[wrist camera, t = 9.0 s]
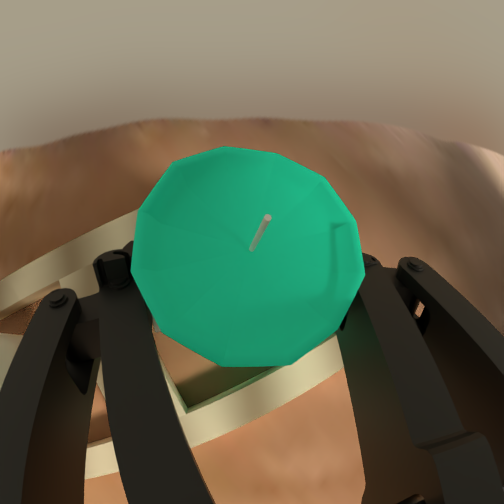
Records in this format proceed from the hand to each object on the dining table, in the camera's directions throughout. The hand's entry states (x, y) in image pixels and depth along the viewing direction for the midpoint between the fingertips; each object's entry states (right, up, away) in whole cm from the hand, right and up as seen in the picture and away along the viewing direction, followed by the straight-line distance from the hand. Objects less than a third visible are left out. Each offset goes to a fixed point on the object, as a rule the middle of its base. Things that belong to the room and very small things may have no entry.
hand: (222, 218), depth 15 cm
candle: (0, -5, +2) cm, 5 cm away
